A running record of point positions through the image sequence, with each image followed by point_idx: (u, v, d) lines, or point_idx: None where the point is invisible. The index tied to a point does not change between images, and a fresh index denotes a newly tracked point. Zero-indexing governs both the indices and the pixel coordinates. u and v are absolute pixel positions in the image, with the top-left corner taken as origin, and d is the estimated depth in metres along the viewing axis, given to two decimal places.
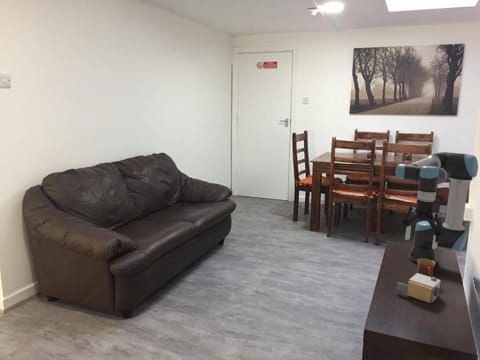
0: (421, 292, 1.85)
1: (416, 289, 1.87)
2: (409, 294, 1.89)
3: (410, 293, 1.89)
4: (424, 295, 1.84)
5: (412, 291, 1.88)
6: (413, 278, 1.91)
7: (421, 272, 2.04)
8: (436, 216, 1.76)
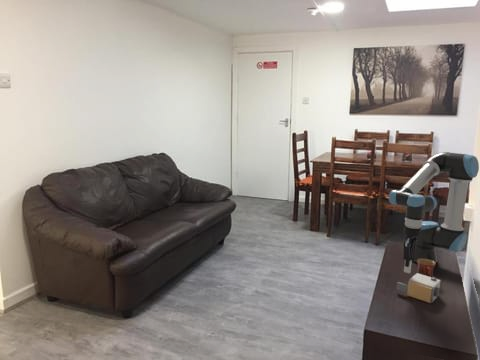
0: (421, 292, 1.85)
1: (416, 289, 1.87)
2: (409, 294, 1.89)
3: (410, 293, 1.89)
4: (424, 295, 1.84)
5: (412, 291, 1.88)
6: (413, 278, 1.91)
7: (421, 272, 2.04)
8: None
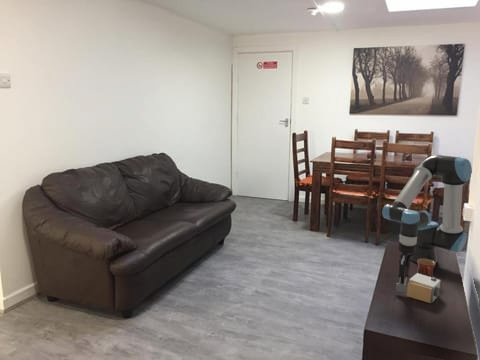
0: (421, 293, 1.85)
1: (416, 290, 1.86)
2: (409, 295, 1.89)
3: (409, 294, 1.88)
4: (424, 295, 1.84)
5: (412, 292, 1.87)
6: (413, 278, 1.91)
7: (421, 272, 2.04)
8: None
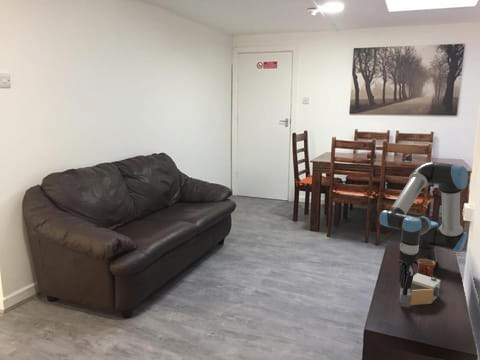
0: (424, 296, 1.81)
1: (419, 295, 1.81)
2: (413, 303, 1.81)
3: (413, 302, 1.81)
4: (427, 298, 1.82)
5: (416, 299, 1.81)
6: (413, 278, 1.91)
7: (421, 272, 2.04)
8: (408, 273, 1.73)
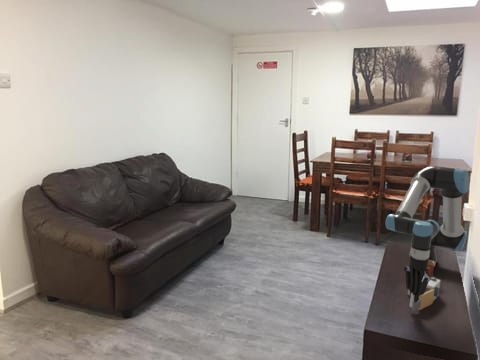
0: (428, 298, 1.80)
1: (426, 298, 1.78)
2: (421, 307, 1.77)
3: (421, 306, 1.77)
4: (430, 299, 1.81)
5: (423, 303, 1.78)
6: None
7: None
8: (425, 280, 1.67)
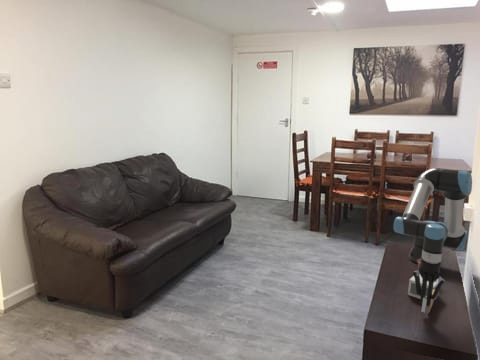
0: (432, 299, 1.79)
1: (431, 300, 1.77)
2: (429, 310, 1.75)
3: (429, 309, 1.75)
4: (432, 300, 1.80)
5: (430, 305, 1.76)
6: (413, 278, 1.91)
7: None
8: (441, 283, 1.65)
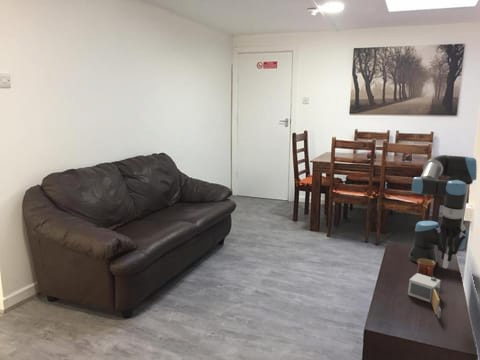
0: None
1: None
2: None
3: None
4: None
5: None
6: (413, 278, 1.91)
7: (421, 272, 2.04)
8: (462, 238, 1.68)
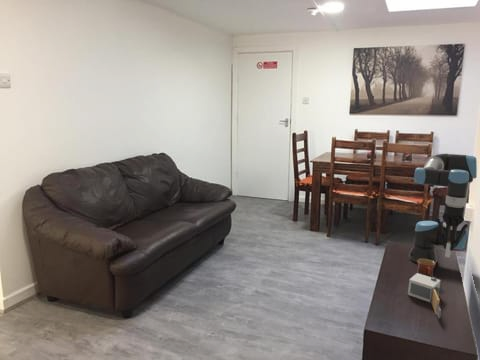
0: None
1: None
2: None
3: None
4: None
5: None
6: (413, 278, 1.91)
7: (421, 272, 2.04)
8: (465, 226, 1.69)
